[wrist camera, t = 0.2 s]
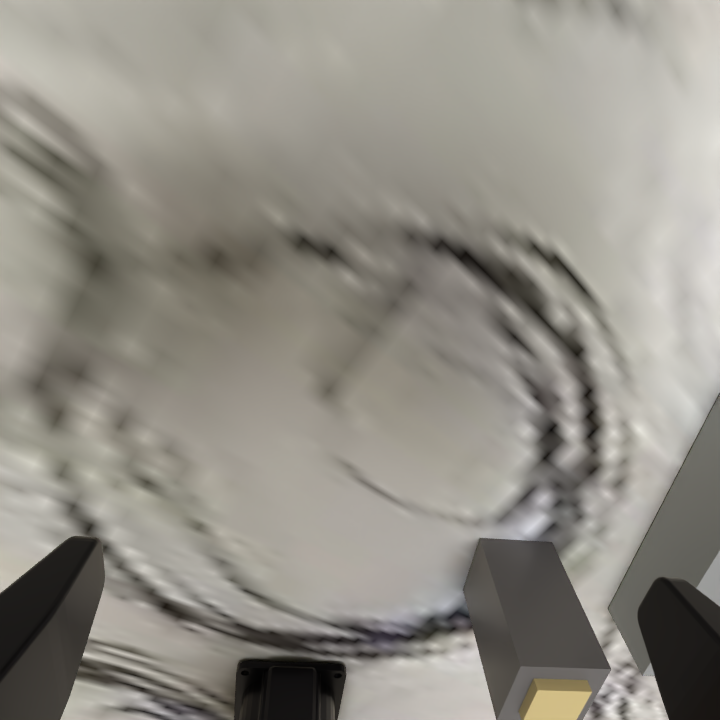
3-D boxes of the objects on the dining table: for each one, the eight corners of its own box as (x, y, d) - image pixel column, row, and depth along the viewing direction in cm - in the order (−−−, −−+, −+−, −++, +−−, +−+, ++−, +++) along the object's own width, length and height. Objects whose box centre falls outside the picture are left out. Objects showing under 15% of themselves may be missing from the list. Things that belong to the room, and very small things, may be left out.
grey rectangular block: (531, 592, 31) (585, 734, 25) (462, 589, 31) (499, 733, 24) (551, 542, 29) (616, 681, 23) (479, 538, 29) (524, 678, 22)
